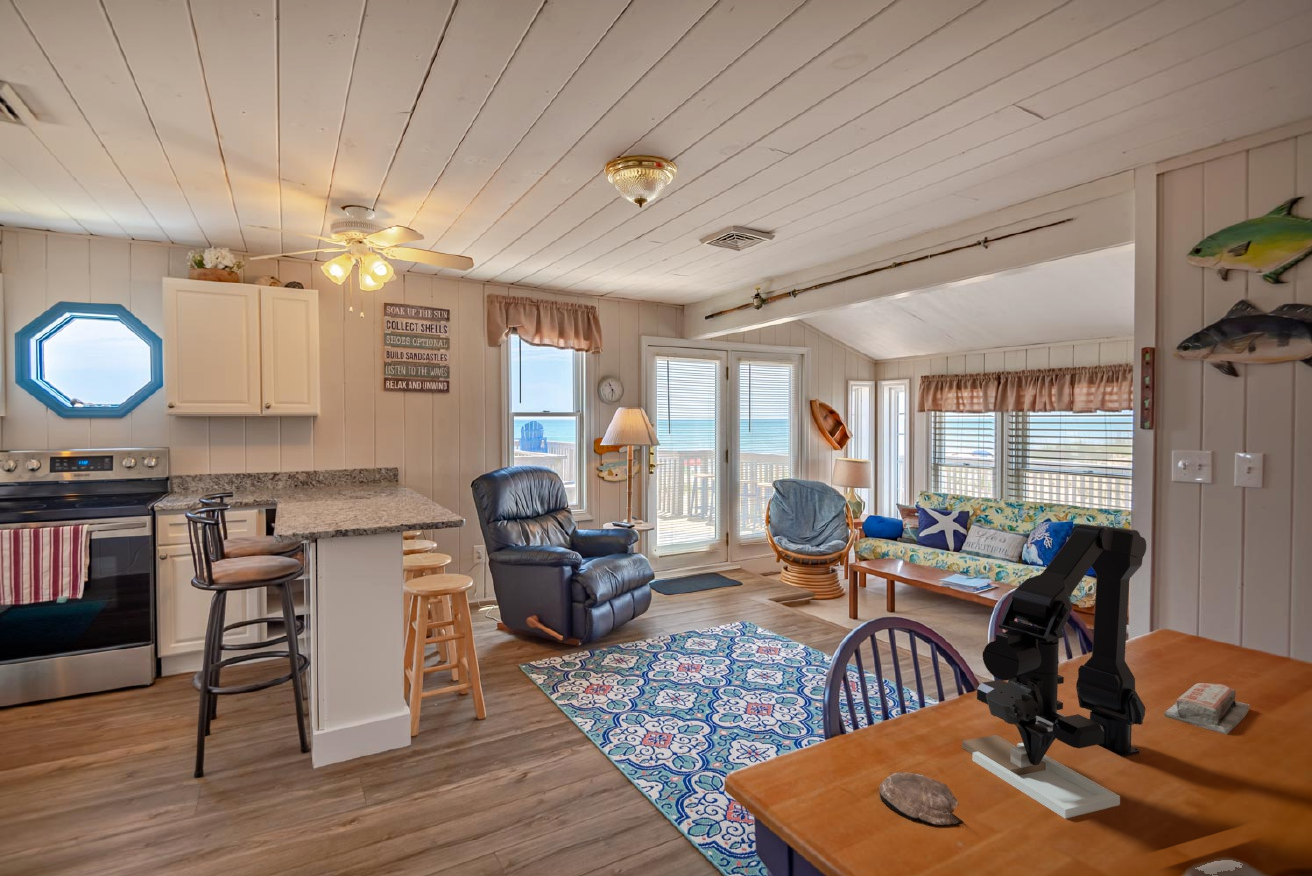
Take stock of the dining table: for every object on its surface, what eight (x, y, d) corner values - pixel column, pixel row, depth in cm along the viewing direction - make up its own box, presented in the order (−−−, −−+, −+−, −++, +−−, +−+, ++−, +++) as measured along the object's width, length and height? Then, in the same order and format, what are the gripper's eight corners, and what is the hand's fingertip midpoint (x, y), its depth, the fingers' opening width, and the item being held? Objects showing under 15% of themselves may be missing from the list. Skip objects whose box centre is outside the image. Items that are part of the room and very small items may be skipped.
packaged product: (1229, 712, 124) (1164, 694, 132) (1228, 738, 124) (1163, 718, 132) (1251, 689, 135) (1189, 673, 143) (1250, 712, 135) (1189, 696, 143)
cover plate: (995, 741, 117) (996, 722, 117) (1045, 769, 108) (1046, 749, 108) (961, 747, 115) (962, 728, 115) (1009, 777, 105) (1010, 756, 105)
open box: (1021, 758, 114) (1022, 742, 114) (1119, 814, 98) (1120, 796, 98) (972, 769, 111) (972, 752, 111) (1064, 828, 95) (1065, 809, 94)
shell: (922, 838, 93) (923, 813, 93) (862, 790, 104) (863, 768, 104) (983, 820, 97) (984, 796, 97) (919, 777, 109) (920, 755, 109)
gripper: (952, 653, 111) (950, 744, 112) (1052, 697, 94) (1049, 805, 94) (1002, 646, 115) (1000, 735, 115) (1108, 687, 97) (1105, 791, 98)
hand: (1034, 764), depth 106 cm, fingers closed
